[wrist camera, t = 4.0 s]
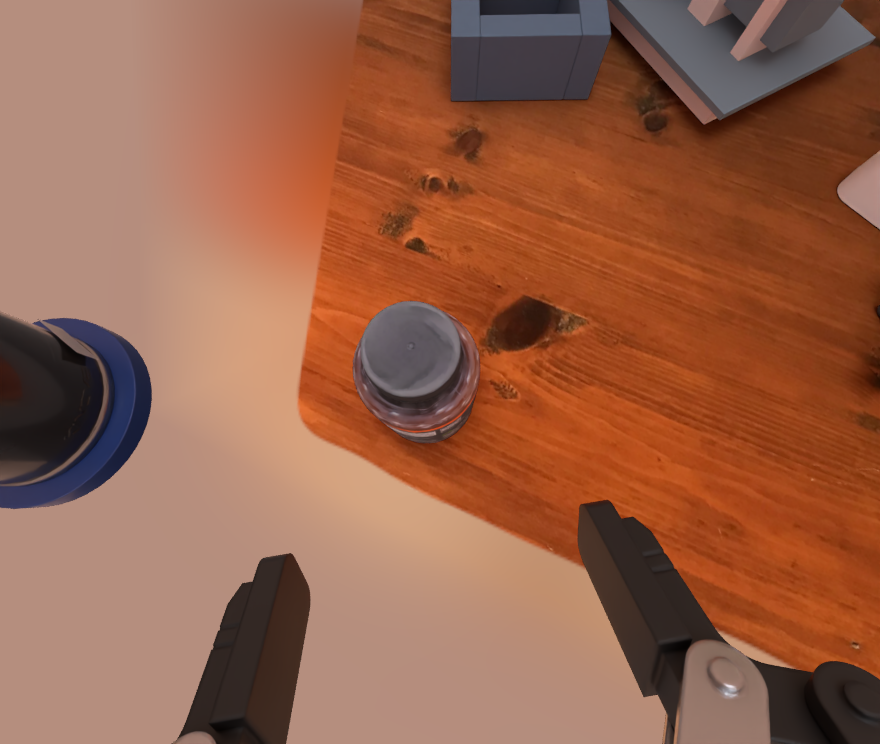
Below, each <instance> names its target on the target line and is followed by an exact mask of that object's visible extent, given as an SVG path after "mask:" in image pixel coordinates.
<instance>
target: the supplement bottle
mask: <svg viewBox="0 0 880 744" xmlns="http://www.w3.org/2000/svg"><path fill="white" fill-rule="evenodd" d="M353 377H354V381H355V386H356V389H357V392H358V394H359V396H360V398H361V400H362V401H363V403H364V404H365V406H366V407H367V408H368V409H369V411H370V412H371V413H372V414H373V415H374V416H376V417H377V418H378V419H379V420H380V421H382V422H383V423H384V424H386V425H387V426H388V427H390V428H391V429H392V430H393V431H395V432H396V433H397V434H399V435H400V436H402V437H403V438H406V439H408V440H411V441H414V442H417V443H436V442H439V441H442V440H445V439H447V438H449V437H451V436H452V435H454V434H455V433H456V432H457V431H458V430H459V429H460V428H461V427H462V426H463V425H464V424H465V422H466V421H467V419H468V417H469V415H470V413H471V409H472V406H473V403H474V399H475V396H476V392H477V390H478V385H479V380H480V358H479V353H478V349H477V346H476V344H475V342H474V339H473V338H472V336H471V334H470V333H469V332H468V330H467V329H466V328H465V327H464V326H463V325H462V323H460V322H459V321H458V320H457V319H456V318H455V317H453V316H451V315H450V314H448V313H446V312H444V311H441V310H440V309H438V308H436V307H434V306H433V305H430V304H427V303H424V302H417V301H405V302H399V303H396V304H393V305H391V306H389V307H386V308H385V309H384V310H382V311H380V312H379V313H378V314H377V315H376V316H375V317H374V318H373V319H372V320H371V321H370V323H369V324H368V326H367V327H366V329H365V332H364V334H363V336H362V338H361V340H360V341H359V343H358V346H357V348H356V351H355V355H354V359H353Z"/></svg>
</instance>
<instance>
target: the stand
mask: <svg viewBox="0 0 880 744" xmlns="http://www.w3.org/2000/svg"><path fill="white" fill-rule="evenodd" d="M610 37H611V27H610V19H609V12H608V4H607V0H451V101H475V100H477V101H485V100H562V99H564V100H569V99H588V97H589V95H590V92H591V89H592V86H593V84H594V81H595V78H596V75H597V73H598V70H599V67H600V64H601V62H602V59H603V56H604V53H605V51H606V48H607V45H608V42H609V40H610Z"/></svg>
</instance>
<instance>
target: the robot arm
mask: <svg viewBox="0 0 880 744" xmlns="http://www.w3.org/2000/svg"><path fill="white" fill-rule="evenodd" d="M39 321H40V322H41V323H43V324H44V325H45V326H46V327H47V328H48V329H50V330H51V331H50V330H48V329H45V328H42V327H40V326H37V325H34V324H32V323H29V322H26V321H24V320H22V319H19V318H17V317H14V316H11V315H8V314H6V313H3V312H0V486H27V485H34V484H38V483H42V482H45V481H48V480H50V479H53V478H55V477H57V476H59V475H61V474H63V473H65V472H66V471H68V470H69V469H71V468H72V467H73V466H75V465H76V464H77V463H79V462H80V461H81V460H82V459H83V458H84V457H85V456H86V455H87V454H88V453H89V452H90V451H91V450H92V448H93V447H94V446H95V445H96V443H97V442H98V440H99V439H100V437H101V436H102V434H103V432H104V430H105V428H106V426H107V424H108V422H109V419H110V416H111V413H112V409H113V404H114V394H115V393H114V381H113V376H112V373H111V370H110V367H109V365H108V364H107V362H106V360H105V359H104V357H103V356H102V355H101V354H100V353H99V352H98V351H97V350H96V349H95V348H94V347H92V346H91V345H89V344H88V343H86V342H84V341H82V340H79V339H76V338H74V337H71V336H70V335H69V334H68V333H67V332H65V331H64V330H63V329H62V328H59V327H56V326H54V325H51V324H49V323H46V322H44V321H41V320H39ZM578 546H579V551H580V555H581V558H582V560H583V563H584V565H585V567H586V570H587V572H588V574H589V576H590V579H591V581H592V583H593V585H594V587H595V590H596V592H597V594H598V596H599V599H600V601H601V603H602V605H603V607H604V610H605V612H606V614H607V616H608V619H609V621H610V623H611V625H612V627H613V630H614V632H615V634H616V636H617V639H618V641H619V643H620V645H621V648H622V650H623V652H624V654H625V656H626V659H627V661H628V663H629V665H630V668H631V670H632V672H633V674H634V676H635V679H636V681H637V683H638V685H639V688H640V690H641V692H642V694H643V697H647V696H653V695H658V696H659V698H660V700H661V702H662V704H663V706H664V708H665V710H666V717H665V725H664V734H663V742H662V744H880V680H879V679H878V678H877V677H875V676H873V675H872V674H870V673H869V672H867V671H865V670H863V669H861V668H859V667H856V666H854V665H851V664H848V663H844V662H838V661H829V662H825V663H823V664H821V665H819V666H818V667H817V668H816V669H815V671H814V672H807V671H802V670H796V669H791V668H785V667H780V666H774V665H769V664H765V663H761V662H758V661H755V660H753V659H751V658H749V657H747V656H745V655H744V654H743V653H741V652H740V651H739V650H737V649H735V648H734V647H732V646H731V645H730V644H728V643H727V642H726V641H725V640H724V639H723V638H722V637H721V636H720V634H719V633H718V632H717V630H716V629H715V628H714V626H713V625H712V623H711V622H710V620H709V619H708V617H707V616H706V614H705V613H704V611H703V610H702V608H701V606H700V605H699V603H698V602H697V600H696V599H695V597H694V596H693V594H692V593H691V591H690V590H689V588H688V587H687V585H686V584H685V582H684V581H683V579H682V578H681V576H680V575H679V573H678V571H677V570H676V569H674V566H673V564H672V562H671V561H670V559H669V558H668V556H667V555H666V554H665V553H664V551H663V549H662V547H661V546H660V544H659V543H658V541H657V540H656V538H655V536H654V535H653V533H652V532H651V531H650V530H649V529H648V528H646V527H645V526H644V525H643V524H641V523H640V522H639V521H638V520H637V519H635V518H634V517H629V518H623V519H621V517H620V516H619V514H618V512H617V511H616V509H615V507H614V506H613V504H612V503H611V502H610V501H609V500H603V501H597V502H591V503H585V504H581V505H580V508H579V524H578ZM309 610H310V590H309V586H308V584H307V582H306V580H305V578H304V575H303V573H302V571H301V570H300V568H299V565H298V563H297V561H296V560H295V558H294V556H293V554H291V553H289V554H284V555H278V556H272V557H266V558H263V559H261V561H260V562H259V564H258V567H257V570H256V573H255V576H254V580H253V582H248V583H242V585H241V586H240V587H239V589H238V590H237V592H236V593H235V595H234V596H233V597H232V599H231V600H230V602H229V603H228V605H227V608H226V610H225V613H224V616H223V619H222V622H221V625H220V631H218V633H217V636H216V639H215V642H214V644H213V646H214V648H213V650H211V653H210V656H209V658H208V661H207V664H206V667H205V670H204V672H203V675H202V678H201V681H200V684H199V686H198V690H197V692H196V695H195V698H194V700H193V704H192V706H191V709H190V712H189V715H188V717H187V720H186V723H185V725H184V727H183V730H182V731H181V734H180V735H179V737H178V739H177V740H176V741H175V742H173V743H172V744H286V740H287V735H288V729H289V723H290V718H291V712H292V706H293V701H294V695H295V690H296V684H297V678H298V673H299V667H300V661H301V655H302V650H303V644H304V638H305V633H306V627H307V622H308V616H309Z"/></svg>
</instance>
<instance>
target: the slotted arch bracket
mask: <svg viewBox="0 0 880 744" xmlns="http://www.w3.org/2000/svg"><path fill="white" fill-rule="evenodd" d="M837 193H838V195H839V197H840V199H841V200H842V201H843V202H844V203H845V204H847V205H848V206H849V207H851V208H852V209H853V210H855V211H856V212H857V213H859V214H860V215H861V216H863V217H864V218H865V219H867V220H868V221H869V222H870V223H872V224H873V225H874V226H876V227H877V228H878V229H880V151H879V152H878V153H876V154H875V155H874V156H872V157H871V158H870V159H868V160H867V161H866V162H865V163H863V164H862V165H861V166H859V167H858V168H857V169H855V170H854V171H853V172H852V173H851V174H850V175H849V176H848V177H847V178H845V179H844V180H843V181H842V182H841V183H840V184H839V186H838V188H837Z"/></svg>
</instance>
